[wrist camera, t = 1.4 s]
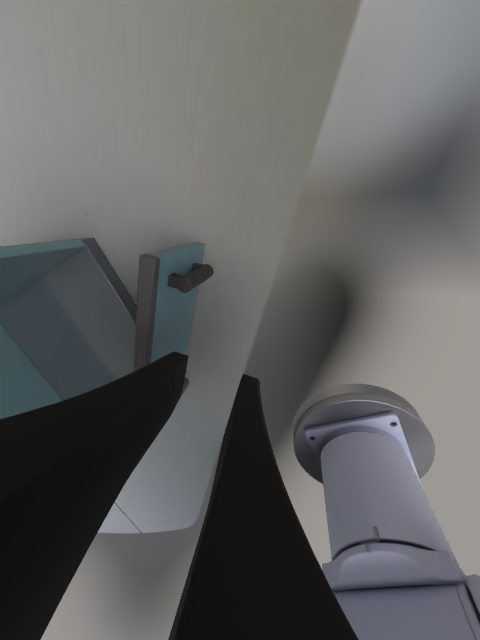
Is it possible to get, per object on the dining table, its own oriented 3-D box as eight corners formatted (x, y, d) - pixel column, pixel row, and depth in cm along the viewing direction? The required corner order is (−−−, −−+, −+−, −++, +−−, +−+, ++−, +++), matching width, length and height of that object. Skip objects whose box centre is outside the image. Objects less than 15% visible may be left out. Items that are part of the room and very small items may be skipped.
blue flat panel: (194, 390, 20) (156, 457, 15) (174, 383, 21) (128, 447, 15) (222, 249, 15) (181, 267, 10) (195, 241, 16) (139, 254, 10)
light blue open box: (191, 384, 22) (141, 464, 15) (87, 416, 27) (12, 488, 20) (98, 234, 18) (-29, 244, 11) (-4, 303, 23) (-138, 341, 16)
